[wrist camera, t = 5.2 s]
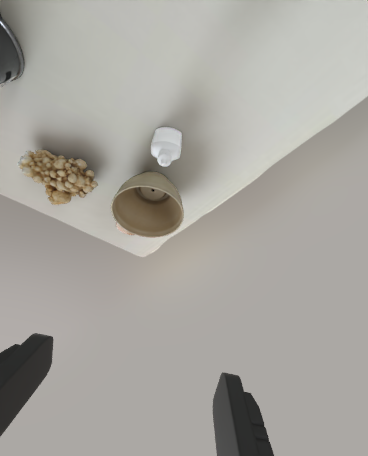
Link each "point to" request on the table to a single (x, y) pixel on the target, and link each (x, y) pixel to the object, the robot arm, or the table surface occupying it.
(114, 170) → the table surface
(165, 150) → the eye dropper bottle
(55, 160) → the mineral formation
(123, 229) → the cork coaster
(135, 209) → the planter bowl
